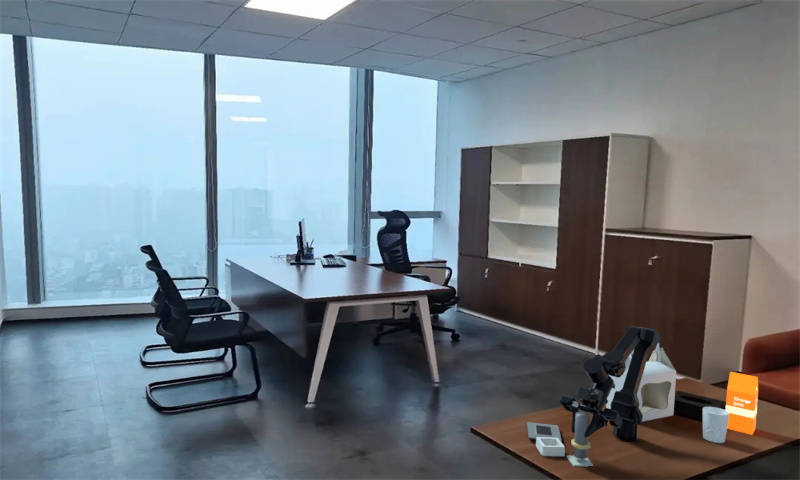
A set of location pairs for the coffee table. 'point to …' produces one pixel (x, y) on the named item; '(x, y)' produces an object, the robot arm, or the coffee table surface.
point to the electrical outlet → (543, 431)
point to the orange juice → (742, 402)
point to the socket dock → (550, 446)
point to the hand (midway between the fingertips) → (579, 434)
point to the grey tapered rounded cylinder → (581, 436)
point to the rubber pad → (579, 461)
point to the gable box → (652, 386)
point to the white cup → (715, 424)
